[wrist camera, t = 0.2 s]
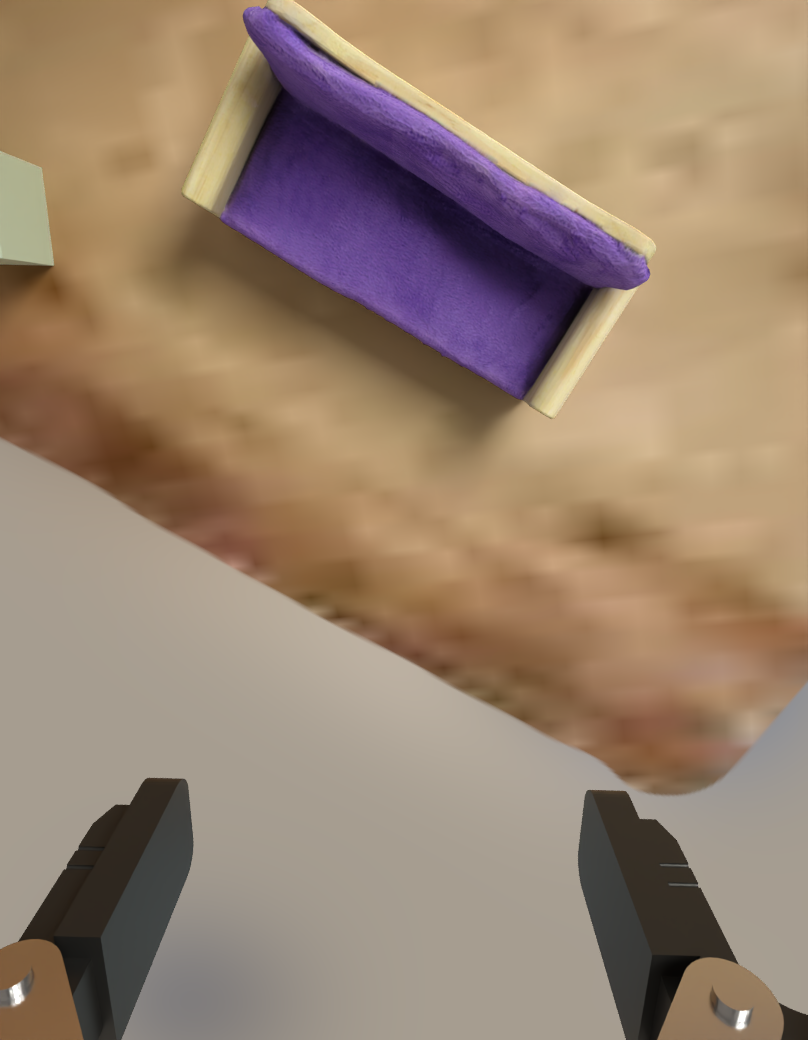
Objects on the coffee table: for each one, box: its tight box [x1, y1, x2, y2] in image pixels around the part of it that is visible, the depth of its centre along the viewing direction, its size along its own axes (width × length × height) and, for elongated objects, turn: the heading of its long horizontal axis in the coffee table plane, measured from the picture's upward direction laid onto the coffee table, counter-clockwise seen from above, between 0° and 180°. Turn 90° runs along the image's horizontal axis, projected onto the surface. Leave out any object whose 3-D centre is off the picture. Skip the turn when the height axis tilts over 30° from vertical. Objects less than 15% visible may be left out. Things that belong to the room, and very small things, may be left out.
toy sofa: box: [182, 0, 656, 419], centre depth 32 cm, size 21×9×10 cm, turn 60°
